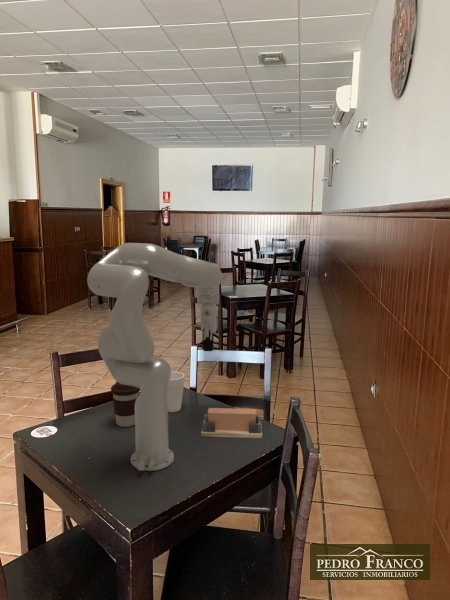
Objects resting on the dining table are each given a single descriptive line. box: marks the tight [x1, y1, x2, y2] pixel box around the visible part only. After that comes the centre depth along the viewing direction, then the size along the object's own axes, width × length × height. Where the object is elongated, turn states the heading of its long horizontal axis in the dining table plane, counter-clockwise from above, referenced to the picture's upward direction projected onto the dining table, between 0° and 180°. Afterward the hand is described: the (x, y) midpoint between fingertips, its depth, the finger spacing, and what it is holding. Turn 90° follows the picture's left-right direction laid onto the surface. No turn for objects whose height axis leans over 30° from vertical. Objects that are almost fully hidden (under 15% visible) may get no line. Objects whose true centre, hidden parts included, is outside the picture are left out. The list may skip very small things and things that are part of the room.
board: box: [200, 413, 263, 439], centre depth 149 cm, size 9×20×4 cm, turn 88°
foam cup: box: [168, 371, 186, 413], centre depth 166 cm, size 10×9×13 cm
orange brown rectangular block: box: [207, 407, 257, 431], centre depth 149 cm, size 4×16×6 cm, turn 88°
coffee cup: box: [110, 381, 141, 428], centre depth 154 cm, size 10×10×15 cm
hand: (208, 350), depth 156 cm, fingers closed
